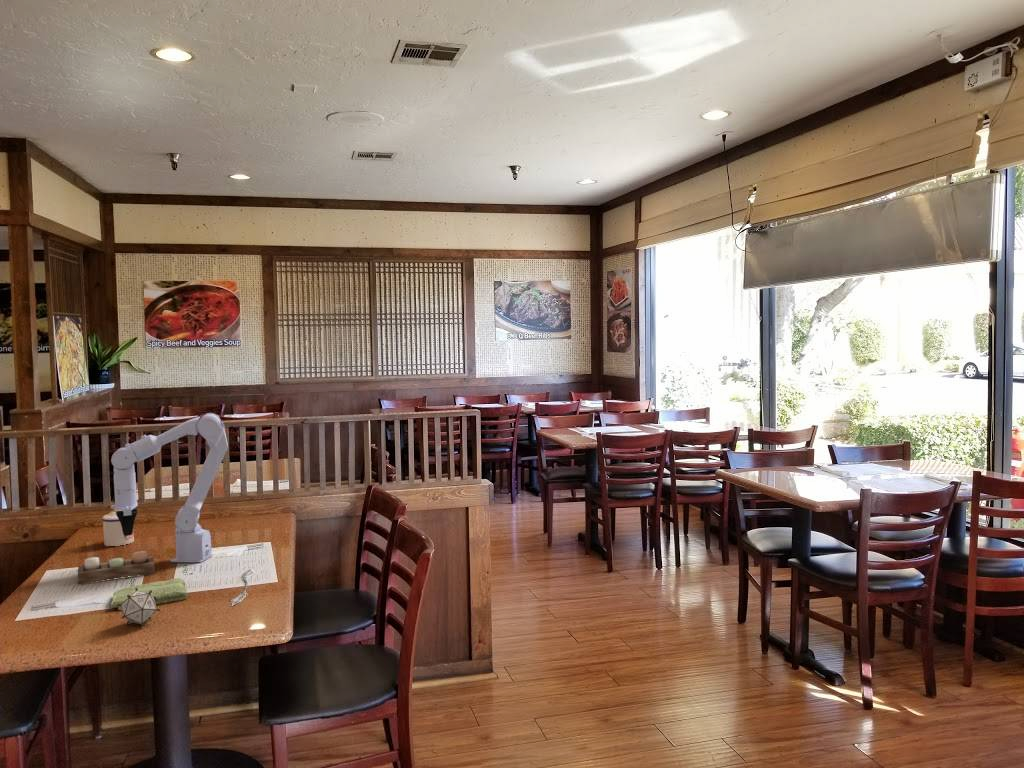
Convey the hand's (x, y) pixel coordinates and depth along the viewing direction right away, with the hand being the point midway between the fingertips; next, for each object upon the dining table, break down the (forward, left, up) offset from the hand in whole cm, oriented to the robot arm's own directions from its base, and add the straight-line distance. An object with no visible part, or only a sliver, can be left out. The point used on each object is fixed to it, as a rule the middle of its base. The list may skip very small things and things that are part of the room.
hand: (127, 535), depth 231 cm
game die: (-28, +45, -9) cm, 54 cm away
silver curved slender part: (-42, +18, -10) cm, 46 cm away
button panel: (-2, +9, -9) cm, 13 cm away
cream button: (+4, +12, -6) cm, 14 cm away
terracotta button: (-7, +6, -6) cm, 11 cm away
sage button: (-2, +9, -7) cm, 12 cm away
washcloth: (-21, +28, -10) cm, 36 cm away
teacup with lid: (+17, -24, -9) cm, 31 cm away
